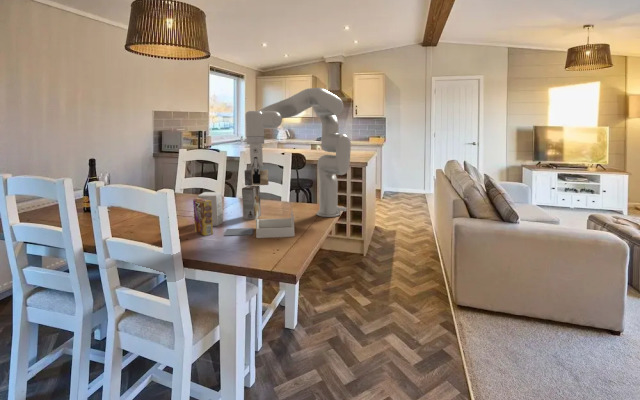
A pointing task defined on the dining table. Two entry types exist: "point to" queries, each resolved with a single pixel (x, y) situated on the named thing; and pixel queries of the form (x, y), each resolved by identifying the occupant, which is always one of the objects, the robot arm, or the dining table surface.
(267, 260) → the dining table surface
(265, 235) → the grey open box
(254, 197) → the coffee box
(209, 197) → the supplement box
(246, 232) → the mat
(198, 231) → the candy box
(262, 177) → the block
